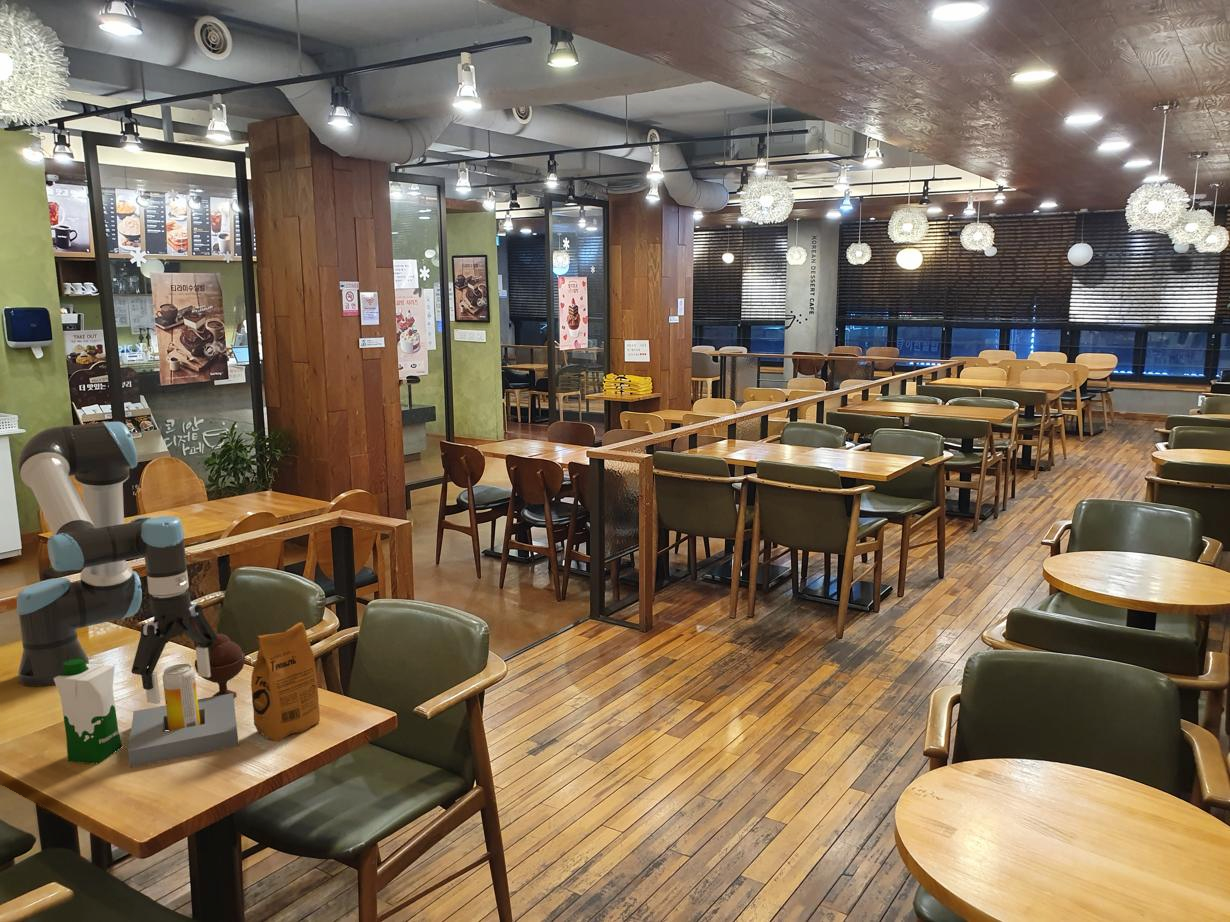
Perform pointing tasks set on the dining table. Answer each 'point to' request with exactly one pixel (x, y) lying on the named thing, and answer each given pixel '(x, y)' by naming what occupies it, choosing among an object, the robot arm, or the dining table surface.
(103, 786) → the dining table surface
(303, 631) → the coffee package
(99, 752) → the milk carton
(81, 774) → the dining table surface
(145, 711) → the socket holder
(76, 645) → the robot arm
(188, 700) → the beer can
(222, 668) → the ice cream bowl
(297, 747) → the dining table surface
